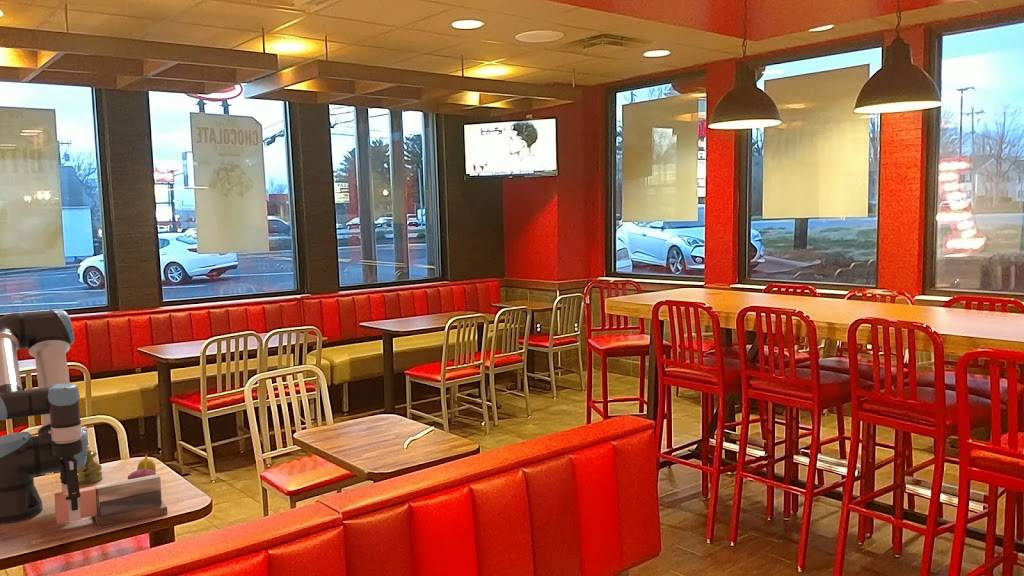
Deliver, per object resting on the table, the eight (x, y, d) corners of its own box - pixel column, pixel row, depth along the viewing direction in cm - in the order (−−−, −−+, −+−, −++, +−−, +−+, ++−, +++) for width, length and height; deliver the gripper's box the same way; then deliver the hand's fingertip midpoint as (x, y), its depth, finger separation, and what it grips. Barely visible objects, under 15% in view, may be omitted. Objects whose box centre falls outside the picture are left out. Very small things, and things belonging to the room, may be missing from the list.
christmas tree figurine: (107, 477, 270) (105, 448, 268) (91, 484, 262) (89, 455, 261) (88, 475, 271) (86, 446, 270) (71, 483, 264) (70, 453, 263)
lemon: (144, 478, 268) (142, 455, 267) (159, 479, 267) (158, 455, 266) (134, 484, 263) (132, 460, 262) (150, 485, 262) (148, 461, 261)
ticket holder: (92, 514, 237) (90, 481, 236) (158, 501, 247) (156, 469, 246) (99, 528, 227) (97, 493, 226) (167, 513, 238) (165, 480, 237)
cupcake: (146, 485, 262) (144, 449, 260) (163, 489, 257) (161, 453, 256) (122, 493, 254) (120, 456, 253) (139, 498, 250) (136, 460, 249)
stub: (56, 519, 227) (54, 493, 227) (95, 511, 233) (93, 486, 232) (57, 523, 225) (55, 496, 224) (97, 515, 231) (95, 489, 230)
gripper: (46, 432, 234) (51, 503, 236) (56, 453, 214) (62, 530, 216) (75, 427, 238) (80, 497, 240) (88, 448, 218) (93, 523, 220)
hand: (71, 513), depth 228 cm, fingers open, 13 cm apart
